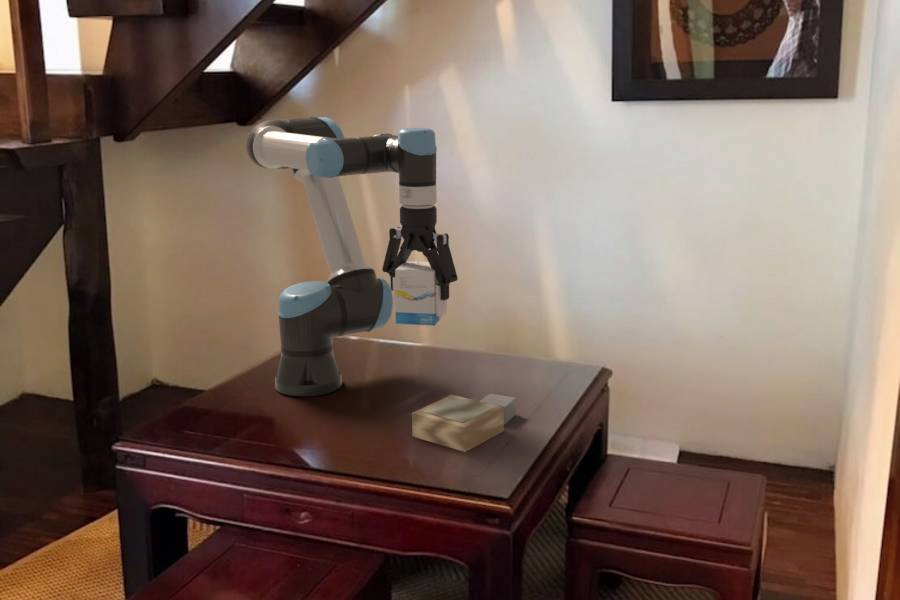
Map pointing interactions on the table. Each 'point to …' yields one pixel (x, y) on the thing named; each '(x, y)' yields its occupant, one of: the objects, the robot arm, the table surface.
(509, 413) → the slate block
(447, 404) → the pedestal
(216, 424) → the table surface
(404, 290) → the ink box
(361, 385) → the table surface
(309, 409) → the table surface
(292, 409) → the table surface
